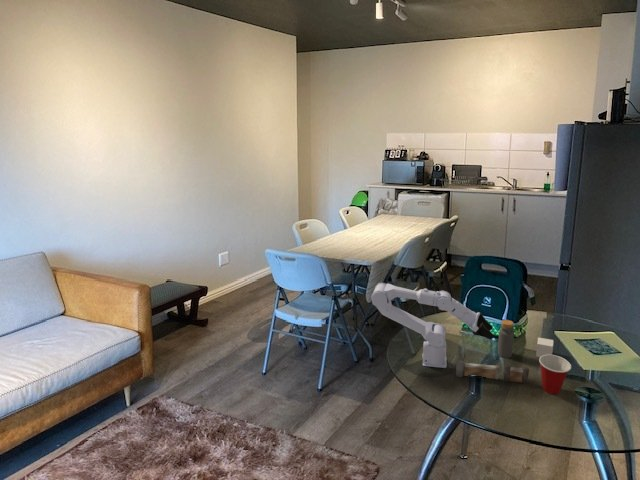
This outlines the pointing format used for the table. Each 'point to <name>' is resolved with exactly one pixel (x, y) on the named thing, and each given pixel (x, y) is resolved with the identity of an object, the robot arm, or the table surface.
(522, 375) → the fence
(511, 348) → the bottle
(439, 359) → the robot arm
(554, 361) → the plastic cup
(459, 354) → the table surface
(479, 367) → the gate
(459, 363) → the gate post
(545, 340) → the white cube
